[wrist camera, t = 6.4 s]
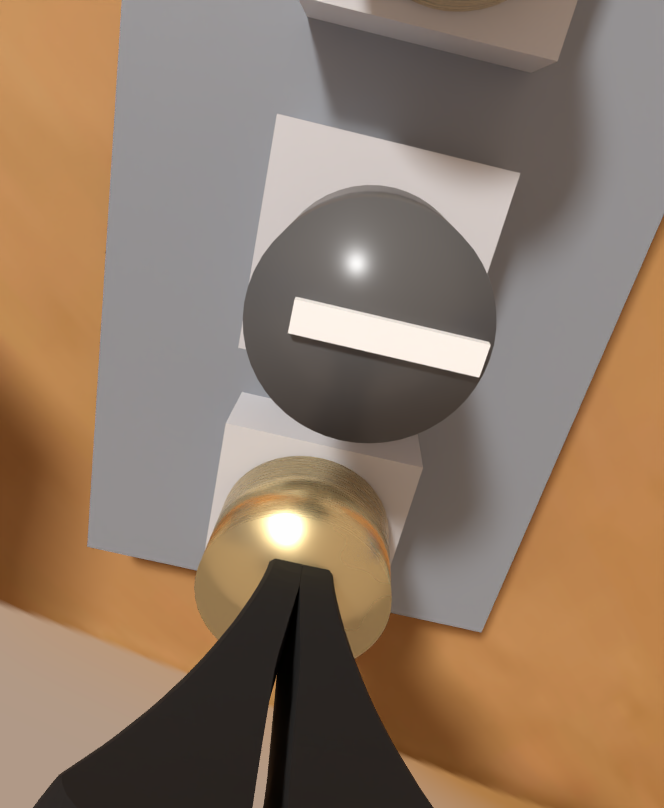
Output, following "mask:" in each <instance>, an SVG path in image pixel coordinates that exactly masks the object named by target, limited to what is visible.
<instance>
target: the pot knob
mask: <svg viewBox="0 0 664 808" xmlns="http://www.w3.org/2000/svg"><path fill="white" fill-rule="evenodd" d="M243 335H244V341H245V347H246V351H247V354H248V358H249V361H250V364H251V366H252V368H253V371H254V373H255V375H256V377H257V379H258V381H259V382H260V384H261V385H262V387H263V389H264V390H265V392H266V393H267V394H268V395H269V397H270V398H271V399H272V400H273V401H274V403H275V404H276V405H277V406H278V407H280V408H281V409H282V410H283V411H284V412H285V413H286V414H287V415H289V416H290V417H291V418H293V419H294V420H295V421H297V422H298V423H300V424H301V425H303V426H305V427H307V428H308V429H310V430H312V431H315V432H317V433H319V434H322V435H324V436H327V437H330V438H334V439H337V440H342V441H348V442H354V443H384V442H390V441H395V440H401V439H404V438H407V437H410V436H414V435H416V434H418V433H421V432H423V431H425V430H427V429H430V428H431V427H433V426H435V425H436V424H438V423H440V422H441V421H443V420H444V419H445V418H447V417H448V416H449V415H451V414H452V413H453V412H454V411H455V410H456V409H457V408H458V407H460V406H461V405H462V404H463V403H464V402H465V401H466V399H467V398H468V397H469V396H470V394H471V393H472V392H473V390H474V389H475V388H476V386H477V384H478V383H479V381H480V379H481V378H482V376H483V374H484V372H485V370H486V367H487V365H488V363H489V360H490V357H491V354H492V350H493V347H494V342H495V335H496V305H495V298H494V293H493V290H492V286H491V282H490V279H489V277H488V275H487V272H486V270H485V268H484V266H483V264H482V262H481V260H480V259H479V257H478V256H477V254H476V252H475V251H474V249H473V248H472V247H471V246H470V244H469V243H468V242H467V241H466V240H465V239H464V237H463V236H462V235H461V234H460V233H459V232H458V231H457V230H456V229H455V228H454V227H453V226H452V225H451V224H450V223H449V222H448V221H447V220H446V219H445V218H444V217H443V216H442V215H441V214H440V213H439V212H438V211H437V210H436V209H435V208H434V207H432V206H431V205H430V204H428V203H427V202H425V201H424V200H422V199H421V198H419V197H417V196H415V195H413V194H411V193H409V192H406V191H403V190H400V189H397V188H393V187H387V186H382V185H362V186H353V187H349V188H345V189H341V190H338V191H336V192H333V193H331V194H328V195H326V196H324V197H323V198H321V199H319V200H317V201H316V202H314V203H313V204H312V205H310V206H309V207H308V208H306V209H305V210H304V211H303V212H302V213H301V214H300V215H299V216H298V217H297V218H296V219H295V220H294V221H293V222H292V223H291V224H290V225H289V226H288V227H287V228H286V229H285V230H284V231H283V232H282V233H281V234H280V235H279V236H278V237H277V238H276V239H275V240H274V241H273V242H272V243H271V245H270V246H269V247H268V249H267V250H266V251H265V253H264V254H263V255H262V257H261V259H260V261H259V262H258V264H257V266H256V268H255V270H254V272H253V274H252V277H251V280H250V282H249V285H248V288H247V292H246V297H245V301H244V309H243Z"/></svg>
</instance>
